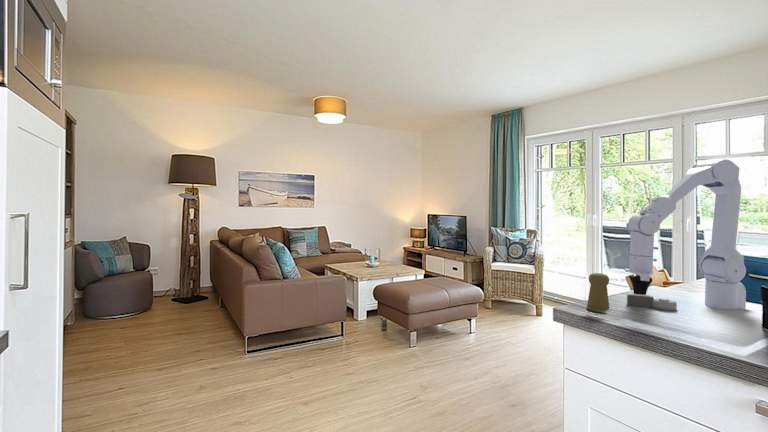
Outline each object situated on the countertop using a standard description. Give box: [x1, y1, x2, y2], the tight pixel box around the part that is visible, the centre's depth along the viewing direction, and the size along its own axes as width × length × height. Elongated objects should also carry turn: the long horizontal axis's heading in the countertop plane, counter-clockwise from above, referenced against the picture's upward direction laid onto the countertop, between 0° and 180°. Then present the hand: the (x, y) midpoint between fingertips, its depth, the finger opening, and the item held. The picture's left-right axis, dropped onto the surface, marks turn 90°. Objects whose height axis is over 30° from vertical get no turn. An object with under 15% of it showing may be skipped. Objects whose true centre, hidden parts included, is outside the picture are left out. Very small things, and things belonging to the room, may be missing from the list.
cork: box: [586, 272, 610, 315], centre depth 114 cm, size 6×6×11 cm
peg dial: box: [626, 292, 678, 312], centre depth 113 cm, size 12×6×3 cm, turn 66°
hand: (639, 301), depth 115 cm, fingers closed, pressing on peg dial
